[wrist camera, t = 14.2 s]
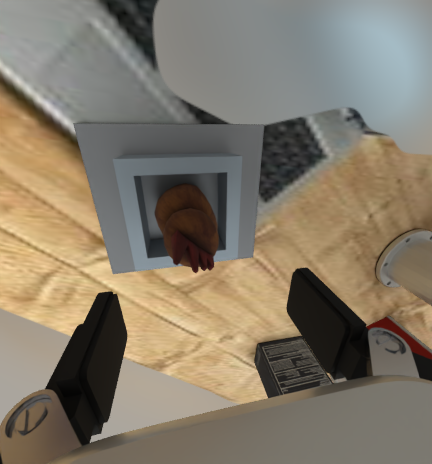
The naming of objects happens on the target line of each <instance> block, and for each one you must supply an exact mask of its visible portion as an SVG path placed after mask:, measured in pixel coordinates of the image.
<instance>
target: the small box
mask: <svg viewBox="0 0 432 464" xmlns="http://www.w3.org/2000/svg"><path fill="white" fill-rule="evenodd" d="M254 363H255V365H256V368H257V370H258V373H259V375H260V378H261V381H262V383H263V386H264V388H265V391H266V394H267V396H268V398H272V397H276V396H280V395H285V394H289V393H294V392H298V391H303V390H307V389H311V388H316V387H320V386H325V385H329V384H334V383H333V382H332V381H331V379H330V378H329V376H328V375H327V373H326V372H325V370H324V369H323V367H322V366H321V364H320V363H319V361H318V360H317V358H316V357H315V355H314V354H313V352H312V351H311V349H310V348H309V346H308V345H307V343H306V342H305V340H304V338H303V337H302V336H299V337H294V338H288V339H283V340H277V341H272V342H266V343H260V344H258V345H257V351H256V356H255V362H254Z"/></svg>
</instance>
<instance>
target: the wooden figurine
mask: <svg viewBox="0 0 432 464" xmlns="http://www.w3.org/2000/svg"><path fill="white" fill-rule="evenodd" d="M154 213H155V218H156V221H157V224H158V227H159V228H160V230H161V232H162V234H163V239H164V246H165V248H166V250H167V252H168V254H169V256H170V257H171V258H172V259H173V263H174V264H175V265H178V264H181V265H183V266H187V267H191V268H192V270H193V272H195V273H197V272H198V267H201V269H202V270H203V271H205V270H206V269H207V268H208V269H209V270H211V269H212V268H213V267H214V256H215V254H216V251H217V249H218V245H219V235H218V232H217V228H218V226H217V221H216V217H215V214H214V212H213V209H212V207H211V205H210V203H209V202H208V200H207V198H206V197H205V195H204V194H203V193H202V191H201V190H200V189H199V188H198V187H197V186H195V185H191V184H187V183H183V184H180V185H176V186H174V187H172V188H170V189H168V190H166V191H165V192H164V193H163V195H162V196H161V197H160V198H159V199H158V201H157V204H156V208H155V212H154Z"/></svg>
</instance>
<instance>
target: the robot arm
mask: <svg viewBox="0 0 432 464" xmlns="http://www.w3.org/2000/svg"><path fill="white" fill-rule="evenodd" d="M376 276H377V279H378V280H379V281H380V282H381V283H382V284H384V285H385V286H388V287H400V286H402V287H403V288H405V289H406V290H408V291H410V292H411V293H413V294H414V295H416V296H417V297H419V298H420V299H422V300H424V301H425V302H427V303H428V304H430V305H431V306H432V232H430V231H428V230H424V229H417V230H413V231H409V232H407V233H405V234H403V235H401V236H400V237H398V238H397V239H396V240H395V241H393V242H392V243H391V244H390V245H389V246H388V247H387V248H386V250H385V251H384V252H383V254H382V255H381V257H380V259H379V261H378V263H377V267H376ZM287 313H288V315H289V316H290V318H291V319H292V321H293V322H294V324H295V326H296V327H297V329H298V330H299V332H300V333H301V335H302V336H303V338H304V339H305V341H306V342H307V344H308V345H309V347H310V348H311V350H312V352H313V353H314V355H315V356H316V358H317V359H318V361H319V362H320V364H321V365H322V367H323V368H324V370H325V371H326V372H327V373H330V375H331V376H332V378H333V379H334V380H337V379H342V378H346V379H347V381H343V382H338V383H334V384H329V385H325V386H320V387H316V388H311V389H307V390H303V391H298V392H294V393H289V394H285V395H280V396H276V397H272V398H267V399H263V400H259V401H254V402H250V403H246V404H241V405H237V406H233V407H228V408H224V409H220V410H216V411H211V412H207V413H203V414H199V415H195V416H190V417H186V418H182V419H178V420H174V421H169V422H165V423H161V424H157V425H153V426H149V427H145V428H142V429H137V430H133V431H129V432H126V433H122V434H118V435H114V436H111V437H108V438H104V439H102V440H98V441H95V442H91V443H90V439H91V436H92V435H96V434H101V431H102V427H103V423H105V422H107V421H108V419H109V416H110V412H111V408H112V403H113V399H114V394H115V389H116V386H117V381H118V377H119V373H120V368H121V364H122V360H123V355H124V351H125V347H126V342H127V330H126V326H125V323H124V319H123V315H122V311H121V307H120V304H119V300H118V296H117V294H113V292H102V293H98V295H97V297H96V299H95V301H94V303H93V305H92V307H91V309H90V311H89V313H88V315H87V317H86V319H85V321H84V323H83V324H80V325H78V326H77V328H76V329H75V331H74V333H73V335H72V337H71V339H70V341H69V343H68V345H67V347H66V349H65V351H64V353H63V355H62V357H61V359H60V361H59V363H58V364H57V367H56V369H55V370H54V372H53V375H52V376H51V378H50V380H49V382H48V384H47V386H46V388H45V390H39V391H37V392H34V393H32V394H30V395H28V396H27V397H25V398H24V399H22V400H21V401H20V402H19V403H17V404H16V405H15V406H14V407H13V408H12V409H11V410H10V411H9V412H8V414H7V415H6V417H5V418H4V420H3V421H2V423H1V425H0V464H432V360H431V359H429V358H426V357H424V356H421V355H419V354H417V353H414V352H412V351H411V349H410V347H409V345H408V344H407V343H406V342H405V340H404V339H402V338H401V337H400V336H399V335H397V334H395V333H394V332H392V331H389V330H387V329H384V328H377V327H375V328H371V329H370V330H369V329H368V328H367V327H366V323H364V322H363V321H362V320H361V319H360V318H359V317H358V316H357V315H356V314H355V313H354V312H353V311H352V310H351V309H350V308H349V307H348V306H347V305H346V304H345V303H344V302H343V301H342V300H341V299H340V298H339V297H337V296H336V295H335V294H334V293H333V292H332V291H331V290H330V289H329V288H328V287H327V286H326V285H325V284H324V283H323V282H322V281H321V280H320V279H319V278H318V277H317V276H316V275H315V274H314V273H313V272H312V271H310V270H309V269H308V268H299V269H296V270H295V272H293V275H292V280H291V286H290V291H289V297H288V302H287Z"/></svg>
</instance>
